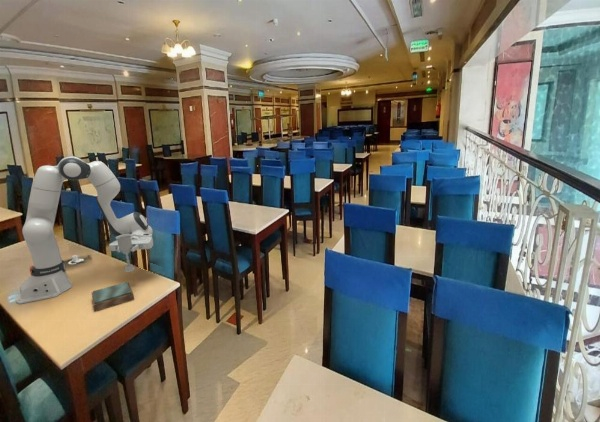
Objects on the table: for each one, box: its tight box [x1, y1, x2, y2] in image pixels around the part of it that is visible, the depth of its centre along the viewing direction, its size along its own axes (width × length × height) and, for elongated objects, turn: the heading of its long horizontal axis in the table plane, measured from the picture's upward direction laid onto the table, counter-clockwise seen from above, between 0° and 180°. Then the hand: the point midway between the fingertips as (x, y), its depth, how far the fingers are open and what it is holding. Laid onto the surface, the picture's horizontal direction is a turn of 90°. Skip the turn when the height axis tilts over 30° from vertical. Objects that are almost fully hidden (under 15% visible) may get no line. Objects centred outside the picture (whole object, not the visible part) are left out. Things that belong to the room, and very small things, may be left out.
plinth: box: [91, 281, 135, 312], centre depth 151 cm, size 16×14×4 cm
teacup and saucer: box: [67, 254, 85, 265], centre depth 196 cm, size 9×8×4 cm
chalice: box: [115, 233, 136, 273], centre depth 160 cm, size 7×7×18 cm
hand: (125, 250), depth 158 cm, fingers closed on chalice, 5 cm apart
